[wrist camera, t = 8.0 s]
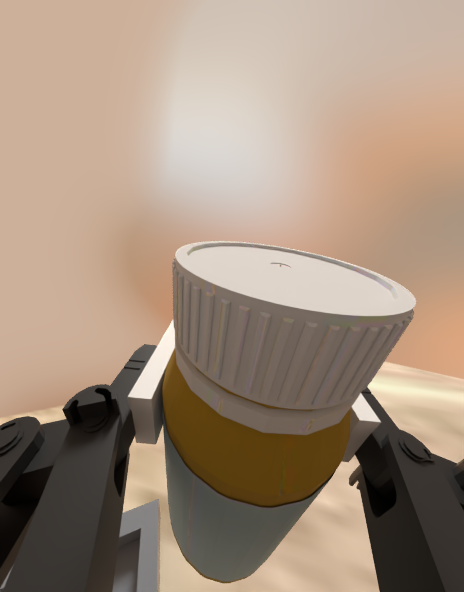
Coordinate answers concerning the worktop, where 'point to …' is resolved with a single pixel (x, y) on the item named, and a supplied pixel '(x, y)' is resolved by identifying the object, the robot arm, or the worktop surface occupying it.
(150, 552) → the tray
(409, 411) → the worktop surface
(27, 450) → the robot arm
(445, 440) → the worktop surface
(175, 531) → the bottle
